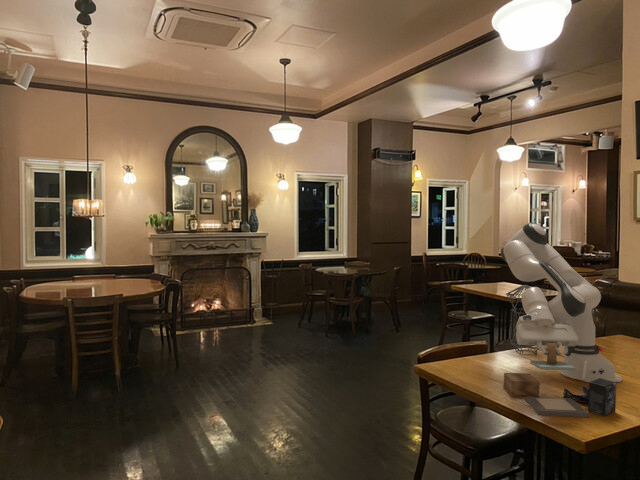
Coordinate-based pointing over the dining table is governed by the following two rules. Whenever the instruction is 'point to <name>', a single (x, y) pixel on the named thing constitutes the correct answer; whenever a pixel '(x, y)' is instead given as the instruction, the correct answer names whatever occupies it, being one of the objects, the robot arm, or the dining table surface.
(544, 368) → the lid
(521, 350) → the geometric lantern
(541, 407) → the gray rectangular tray
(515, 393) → the tea box
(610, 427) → the dining table surface
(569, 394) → the snack package
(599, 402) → the box
